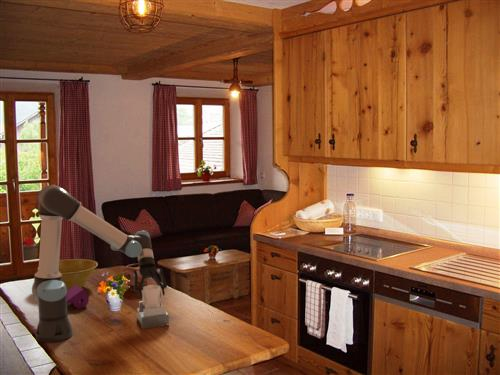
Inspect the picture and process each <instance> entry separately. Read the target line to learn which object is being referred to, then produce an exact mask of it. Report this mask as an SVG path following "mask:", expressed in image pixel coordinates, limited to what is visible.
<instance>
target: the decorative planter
mask: <svg viewBox="0 0 500 375" xmlns="http://www.w3.org/2000/svg"><path fill="white" fill-rule="evenodd" d="M123 271H124V272H123V278H124V277H126V278H127V279H128V280H130V282H128V283H127V282H126V285H127V287H128V286H130V290H129V291H132V292H135V291H134V285H135V277H134V271H139V263H132V264H128V265H126V266H125V267H124V270H123ZM142 277H143V276H142V275H141V274H140V273H139V275H138V285H137V288H139V287H140V284H141V280H142ZM148 279H149V278H145V281H144V284H143V287H144V286H147V285H148ZM143 287H142V290H143Z"/></svg>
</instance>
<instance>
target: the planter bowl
mask: <svg viewBox="0 0 500 375" xmlns="http://www.w3.org/2000/svg"><path fill="white" fill-rule="evenodd" d="M98 265H99V264H98V262H97V261H95V260H92V259H84V258H74V259H73V258H70V259H59V272H60V273H61V274H62V280H61V281H62V282H64V283H65V285H66V289H67V291H68V290H70V289H71V288H72V287H74V286H75V285H77V286H79V287H81V288H84V287H85V286H86V284H87V282H88V281H89V278H90V276H92V275H93V274H94V273H95V270H96V268H97V267H98ZM38 271H39V266H38V267H37V272H38Z"/></svg>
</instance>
